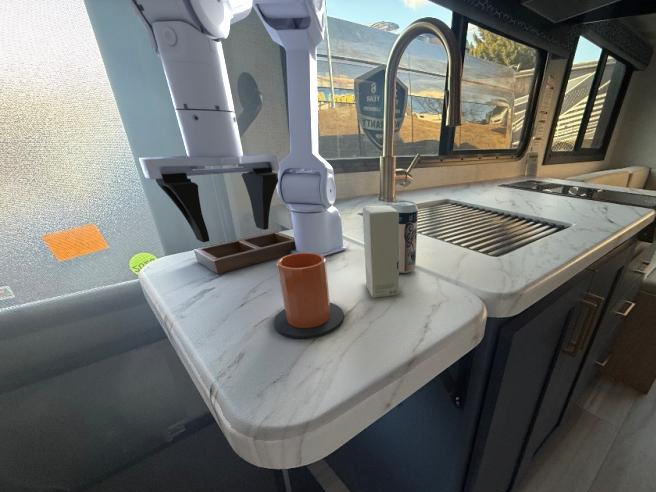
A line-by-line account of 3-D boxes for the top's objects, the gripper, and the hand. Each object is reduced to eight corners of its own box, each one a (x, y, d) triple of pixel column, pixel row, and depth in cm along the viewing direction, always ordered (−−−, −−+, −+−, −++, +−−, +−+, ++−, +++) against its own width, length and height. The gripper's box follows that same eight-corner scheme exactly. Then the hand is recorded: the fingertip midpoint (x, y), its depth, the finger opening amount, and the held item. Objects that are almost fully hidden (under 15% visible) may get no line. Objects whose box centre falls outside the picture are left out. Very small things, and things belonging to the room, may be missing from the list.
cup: (302, 303, 45) (294, 250, 41) (337, 310, 43) (333, 255, 39) (278, 323, 40) (266, 265, 36) (316, 331, 38) (309, 271, 35)
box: (399, 295, 49) (401, 211, 42) (371, 299, 47) (369, 213, 41) (390, 282, 53) (390, 204, 47) (364, 285, 52) (361, 205, 46)
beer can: (413, 275, 56) (415, 206, 50) (387, 273, 56) (386, 205, 51) (417, 266, 60) (420, 201, 54) (392, 263, 60) (393, 199, 55)
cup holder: (197, 261, 60) (193, 249, 58) (278, 242, 71) (276, 231, 70) (218, 274, 55) (214, 261, 53) (301, 250, 66) (299, 239, 65)
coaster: (316, 297, 47) (316, 295, 47) (357, 318, 42) (357, 315, 42) (260, 321, 41) (260, 318, 41) (301, 348, 36) (300, 345, 36)
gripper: (136, 105, 27) (184, 254, 33) (285, 114, 37) (300, 228, 43) (115, 107, 31) (161, 241, 37) (255, 115, 41) (273, 220, 47)
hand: (234, 233), depth 41 cm, fingers open, 7 cm apart
